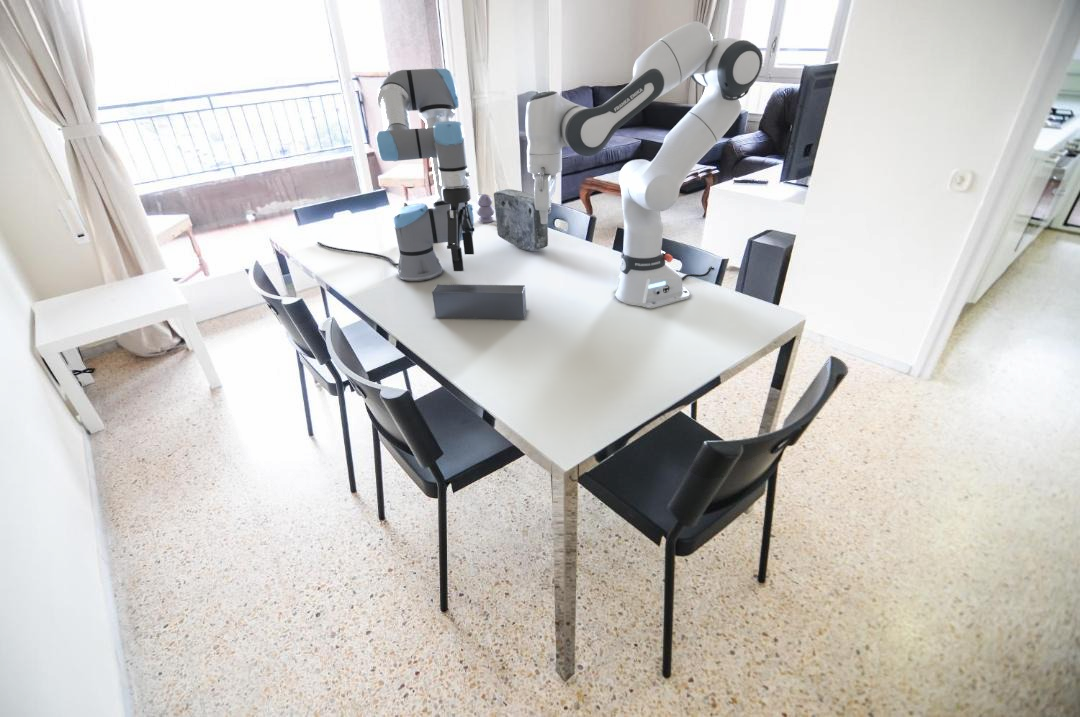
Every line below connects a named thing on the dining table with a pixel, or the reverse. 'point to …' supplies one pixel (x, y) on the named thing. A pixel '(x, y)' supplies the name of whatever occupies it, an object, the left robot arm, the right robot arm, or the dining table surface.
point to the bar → (480, 301)
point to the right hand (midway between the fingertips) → (546, 218)
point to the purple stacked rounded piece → (485, 208)
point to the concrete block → (519, 220)
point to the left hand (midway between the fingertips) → (464, 262)
